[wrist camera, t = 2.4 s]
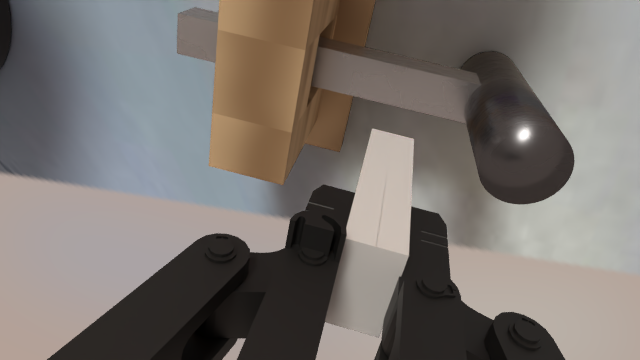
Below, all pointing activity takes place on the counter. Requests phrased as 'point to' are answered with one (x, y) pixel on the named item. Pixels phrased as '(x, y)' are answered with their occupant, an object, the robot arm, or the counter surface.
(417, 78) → the hook rod
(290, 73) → the eye block
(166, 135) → the counter surface
